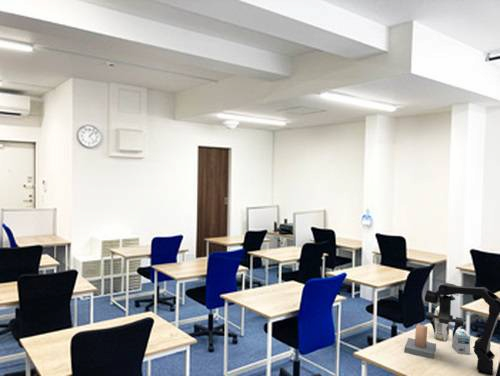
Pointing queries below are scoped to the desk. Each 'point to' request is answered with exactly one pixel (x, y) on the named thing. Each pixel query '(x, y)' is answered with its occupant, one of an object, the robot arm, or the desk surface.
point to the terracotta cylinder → (421, 336)
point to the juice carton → (440, 328)
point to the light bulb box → (461, 341)
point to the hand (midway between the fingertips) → (443, 334)
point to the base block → (420, 349)
